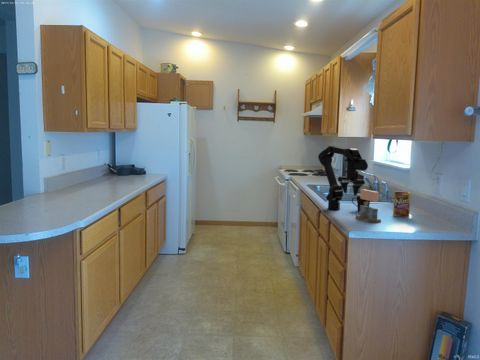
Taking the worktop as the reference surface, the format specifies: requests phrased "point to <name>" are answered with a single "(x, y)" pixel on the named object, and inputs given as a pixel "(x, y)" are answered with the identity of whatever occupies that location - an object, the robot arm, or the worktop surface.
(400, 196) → the candy box
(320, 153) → the robot arm
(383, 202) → the worktop surface
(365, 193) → the tan wooden block
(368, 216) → the ticket stand
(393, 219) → the worktop surface
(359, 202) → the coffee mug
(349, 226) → the worktop surface
